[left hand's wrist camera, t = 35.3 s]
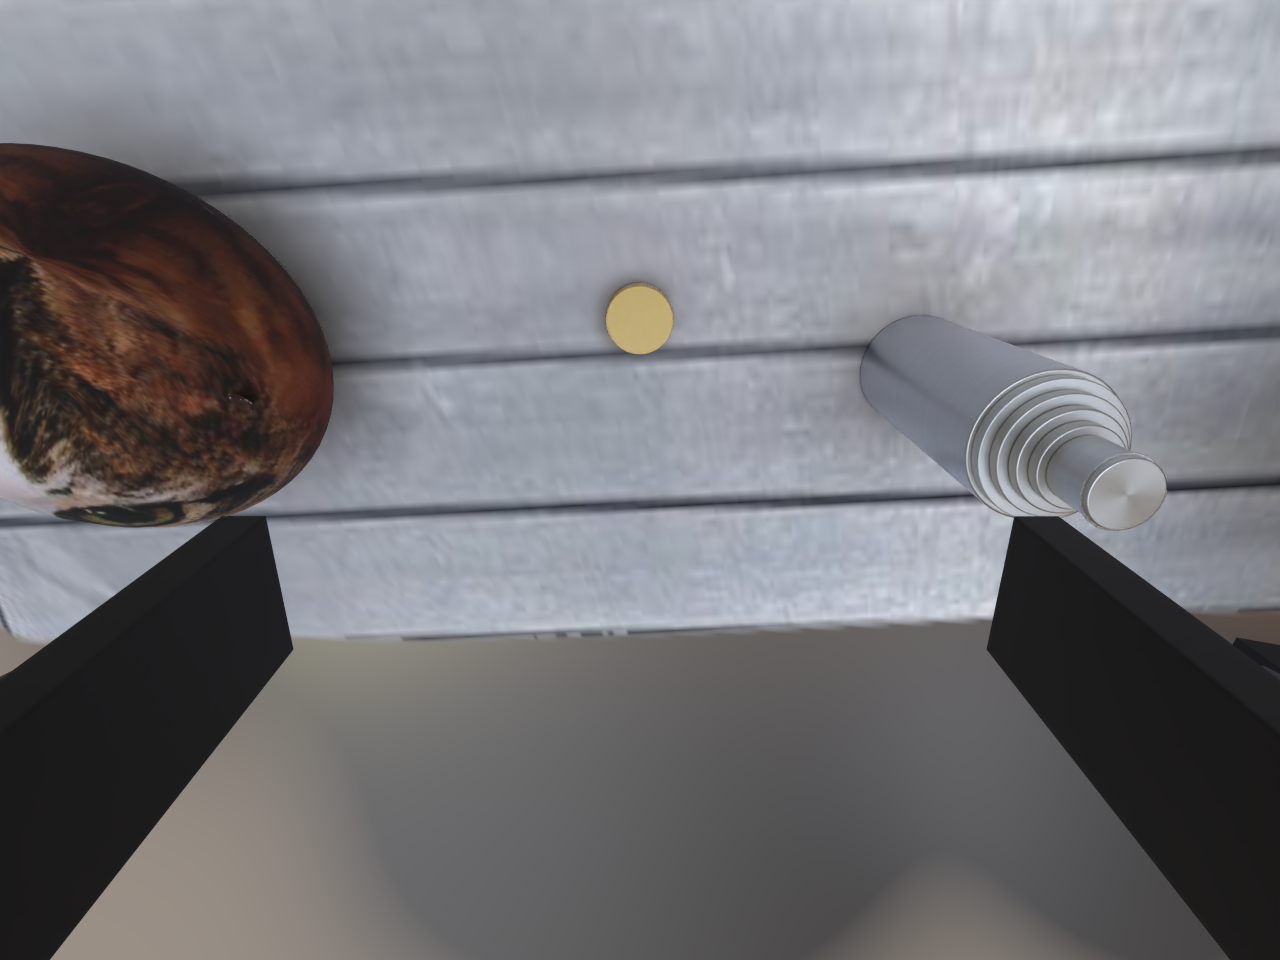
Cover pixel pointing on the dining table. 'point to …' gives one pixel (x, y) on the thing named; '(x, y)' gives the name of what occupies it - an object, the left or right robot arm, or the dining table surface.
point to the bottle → (1011, 424)
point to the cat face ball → (145, 349)
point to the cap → (639, 318)
